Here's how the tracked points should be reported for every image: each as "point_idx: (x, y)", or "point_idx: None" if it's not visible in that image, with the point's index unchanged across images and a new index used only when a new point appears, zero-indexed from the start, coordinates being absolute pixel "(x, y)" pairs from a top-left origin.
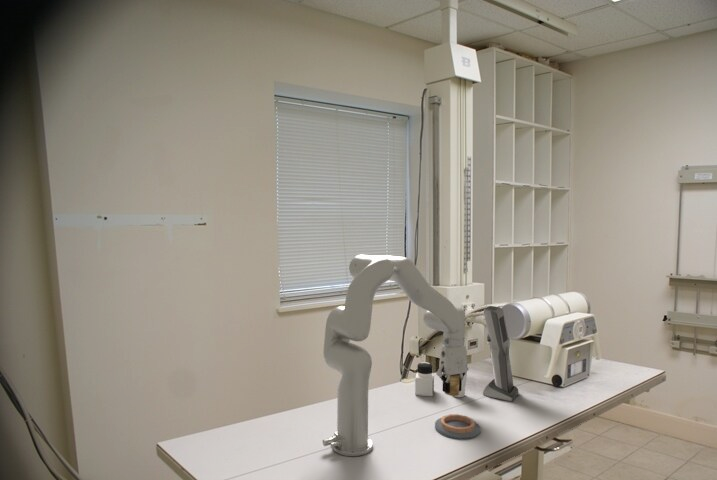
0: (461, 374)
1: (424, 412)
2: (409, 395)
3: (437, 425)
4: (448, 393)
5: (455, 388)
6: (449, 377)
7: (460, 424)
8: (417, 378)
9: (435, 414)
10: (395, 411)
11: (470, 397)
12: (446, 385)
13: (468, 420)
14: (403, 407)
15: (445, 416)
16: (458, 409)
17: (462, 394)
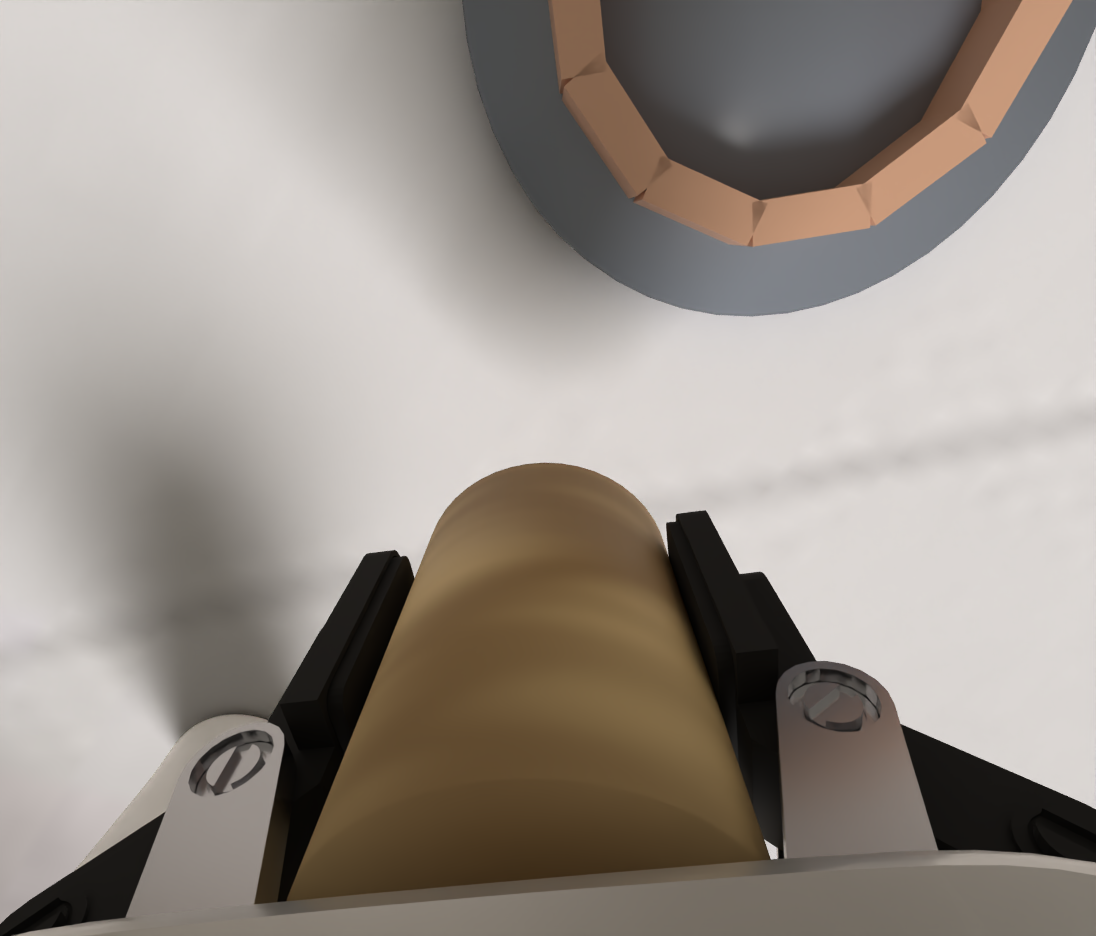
0: (189, 890)
1: (812, 548)
2: None
3: (1019, 115)
4: (696, 512)
5: (557, 530)
6: (799, 806)
7: (719, 5)
8: None
9: (741, 469)
10: (1043, 653)
11: (141, 688)
12: (778, 636)
13: None
14: (913, 699)
15: (852, 205)
16: (423, 491)
17: (214, 732)
